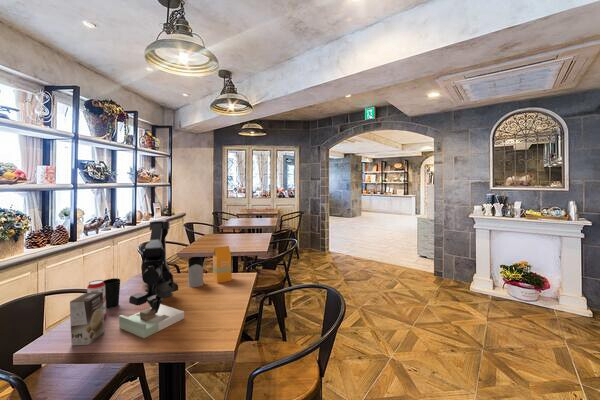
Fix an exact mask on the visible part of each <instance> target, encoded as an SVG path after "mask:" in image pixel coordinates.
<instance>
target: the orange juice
mask: <svg viewBox="0 0 600 400" xmlns="http://www.w3.org/2000/svg"><path fill="white" fill-rule="evenodd" d="M232 272H233V269H232V254H231V250H230V246H229V245H227V246H219V247H214V250H213V253H212V278H213V279H212V280H213V281H214V282H215V283H216V284H221V283H227V282H230V281H233V280H232V279H233V274H232Z"/></svg>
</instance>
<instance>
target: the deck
mask: <svg viewBox="0 0 600 400" xmlns="http://www.w3.org/2000/svg"><path fill="white" fill-rule="evenodd" d="M150 308H151V307H150ZM151 309H152V308H151ZM184 319H185V311H184V310H180V309H178V308H174V307H171V306H168V305H165V304H160V307H159V310H158V313H156V317H155V318H152V319H150V320H148V321H145V320H142V319H140V311H139V312H136V313H134V314H132V315H129V316H126V315H123V314H120V315H118V327H119V329H121V330H124V331H126V332H128V333H131V334H134V335H135V336H137V337H140V338H142V339H146V338H148V337H150V336H151V335H153V334H156V333H157V332H159V331H162V330H163V329H166V328H167V327H169V326H171V325H174V324H176V323H178V322H180V321H181V320H184Z"/></svg>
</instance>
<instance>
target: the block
mask: <svg viewBox="0 0 600 400" xmlns="http://www.w3.org/2000/svg"><path fill="white" fill-rule="evenodd" d="M139 312H140V319H142V320H145V321H148V320H150V319H152V318H155V317H156V313H155V310H154V309H151V307H148V308H146V309H142V310H140V311H139Z"/></svg>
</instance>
